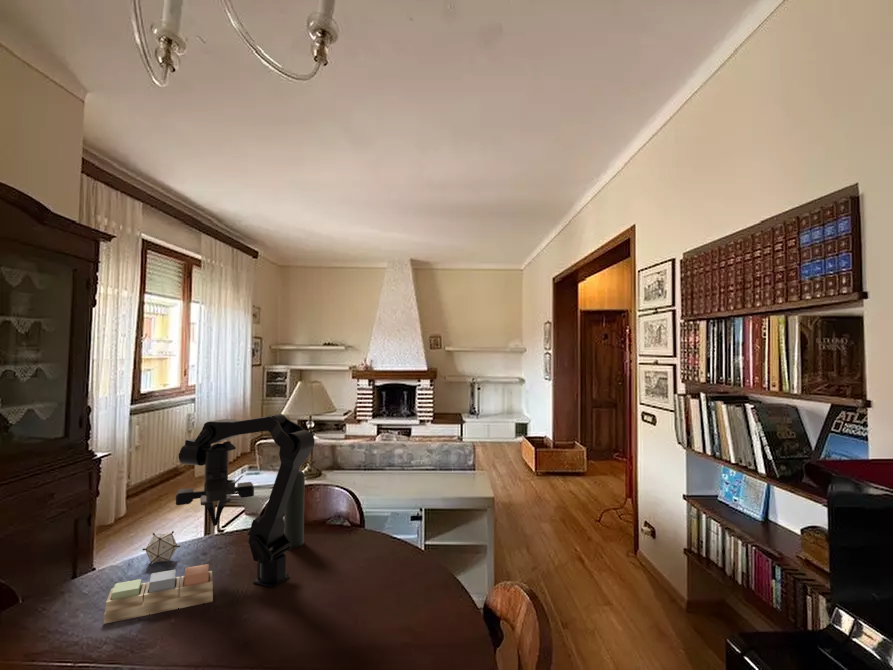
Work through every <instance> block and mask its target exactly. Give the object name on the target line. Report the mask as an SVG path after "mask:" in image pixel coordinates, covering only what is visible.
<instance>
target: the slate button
mask: <svg viewBox="0 0 893 670" xmlns="http://www.w3.org/2000/svg"><path fill="white" fill-rule="evenodd" d="M176 570H177V569H171V570H166V571H159V572H153V573H150V574H151V575H150V579H149V581H148V582H149V593H152V592H157V591H163V590H168V589H174V588H175V583H176V577H177V571H176Z"/></svg>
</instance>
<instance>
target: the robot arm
mask: <svg viewBox="0 0 893 670" xmlns="http://www.w3.org/2000/svg"><path fill="white" fill-rule="evenodd" d="M260 432H268V433H269V434H270V435H271V438H272V440H273V442H274V443H275V444H276V445H277V446H278V447H279V450H278V456H279V461H280V466H279V468H278V471H277V474H276V476H275V480H274V482H273V485H272V489H271V491H270V495H269V498H268V502H267V504H266V507H265V510H264V513H263V515H260V516H259V517H257V518H255V519H253V520H252V522H251V525H250V530H249V532H248V533H247V536H248V539H247V540H248V541H247V542H248V545H249V547H250V552H251V555H252V559H253V561H254V562H257V564H256V565H257V567H256V568H257V569H256V570H257V571H256V577H257V578H255V579H253V583H254V584H256V585H260V586H265V587H268V588H274V587H275V586H277V585H279V584H280V583H282V582H283V581H285V580H287V579H289V578H290V576H291V575H290V574H287V573H286V567H287V565H286V564H287V563H286V562H287V561H286V560H287V556H286V554H285V553H287V552H288V551H290V550H291V548H290V547H291V544H292V543H291V542H290V540H289V539H288V538H287V536H286V535H285V534H284V527H285V525H284V516H285V509H286V506H287V503H288V500H289V497H290V494H291V491H292V488H293V485H294V482H295V480H296V477H297V474H298V471H299V470H300V467H301V466H302V465H303V463H304V462H305V461H306V460H307V459H308V457H309V456H310V454H311V452H312V450H313V448H314V447H315V443H316V441H315V438H314V436H313V434H312V433H311V432H310V431H309V430H306V429H304V428H303V426H301V425H300V424H297V423H296V422H294V421H291V420H290V419H288V417H286V415H284V414H282V413H277V414H271V415H268V416H263V417H256V418H251V419H250V418H249V419H243V420H237V419H233V418H232V419H230V418H222V419H217V420H211V421H206V422H205V423H203V426H202V429H201V431H200V433H199V434H198V435H197V437H196V438H195V439H194V438H190V439H185V444H184V445H183V446H182V447H181V448H180V450H179V453H178V460H179V463H180V464H183V465H186V466H187V465H189V466H204V486H203V487H204V488H203V490H197V491H195V490H194V487H190V488H188V487H187V488H181V489H178V490H177V491H176V494H175V495H176V496H175V506H183V505H190V504H191V503H192V502H193V501H194V500H197V499H198V500H199V499H200V506H204V507H205V508H206V509H207V512H208V514H209V516H210V520H211V522H212V525H213V527H215V526H218V523H219V521H220V517H221V515H222V512H223V510H224V509H225V506H226V504H227V503H231V501H232V498H231V497H232V496H234V495H238V496H239V497H240V498H241V499H242V498H251V497H255V487H254V484H253V483H252V482H251V481H247V482H238V483H237V486H236V479H229V455H230V454H229V453H230V452H231V451H235V450H236V449H237V447H236V446H235V445H234V444H233V443H232V442H231V441H230V439H232V438H236V437H238V436H240V435H246V434H254V433H260ZM226 440H227V441H226ZM222 441H224V442H223V443H220V442H222ZM214 502H217V505H216V512H215V505H214Z"/></svg>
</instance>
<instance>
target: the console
mask: <svg viewBox="0 0 893 670" xmlns="http://www.w3.org/2000/svg"><path fill="white" fill-rule="evenodd" d="M184 580H185V575H182V576H176V583H175V588H174V589H168V590H163V591H157V592H152V593H149V582H150V581H148V582H141V593H140V595H136V596H131V597H125V598H120V599H115V600H112V592H113V589H114V587H113V588H111V589H110V592H109V594H108V596H107V599H106V602H105V610H104V614H103V625H106V624H109V623H115V622H119V621H124V620H129V619H134V618H140V617H145V616H149V614H150V615H154V614H159V613H164V612H168V611H173V610H179V609H184V608H188V607H192V606H198V605H202V604H203V603H204V604H209V603H213V601H214V598H213V597H214V584H213V580H214V579H213V570H209V575H208V582H206V583H200V584H195V585H190V586H184ZM178 608H179V609H178Z"/></svg>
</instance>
